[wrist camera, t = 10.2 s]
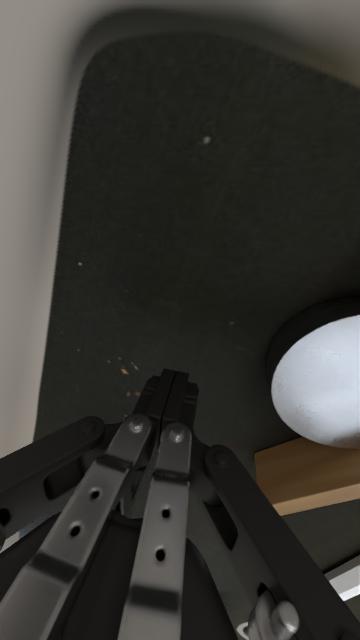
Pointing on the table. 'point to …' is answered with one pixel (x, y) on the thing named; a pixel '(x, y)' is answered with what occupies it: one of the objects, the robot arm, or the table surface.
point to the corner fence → (307, 475)
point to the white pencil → (346, 578)
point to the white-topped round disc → (319, 373)
